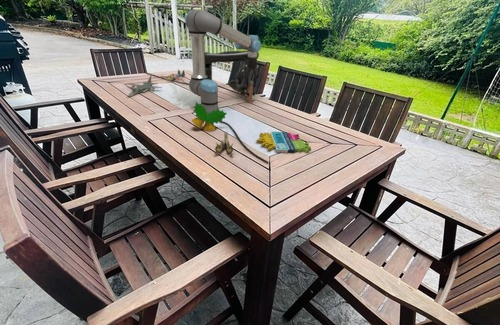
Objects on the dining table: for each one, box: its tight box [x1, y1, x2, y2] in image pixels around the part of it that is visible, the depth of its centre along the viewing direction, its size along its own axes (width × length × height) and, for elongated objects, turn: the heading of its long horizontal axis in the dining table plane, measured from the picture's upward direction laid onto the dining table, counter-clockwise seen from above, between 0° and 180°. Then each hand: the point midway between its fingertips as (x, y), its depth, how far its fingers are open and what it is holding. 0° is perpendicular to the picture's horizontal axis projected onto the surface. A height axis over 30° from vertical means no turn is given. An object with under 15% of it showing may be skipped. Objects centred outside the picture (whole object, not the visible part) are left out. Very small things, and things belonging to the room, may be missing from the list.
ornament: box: [191, 102, 228, 132], centre depth 162 cm, size 21×8×15 cm, turn 105°
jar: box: [246, 84, 254, 104], centre depth 218 cm, size 5×5×16 cm
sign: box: [256, 131, 312, 154], centre depth 152 cm, size 26×2×30 cm
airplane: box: [126, 75, 163, 98], centre depth 227 cm, size 38×31×10 cm
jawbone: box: [214, 131, 234, 156], centre depth 136 cm, size 9×15×10 cm
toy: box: [160, 69, 186, 82], centre depth 279 cm, size 28×7×30 cm
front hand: (250, 86), depth 216 cm, fingers closed on lid, 5 cm apart
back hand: (251, 94), depth 217 cm, fingers closed on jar, 4 cm apart
